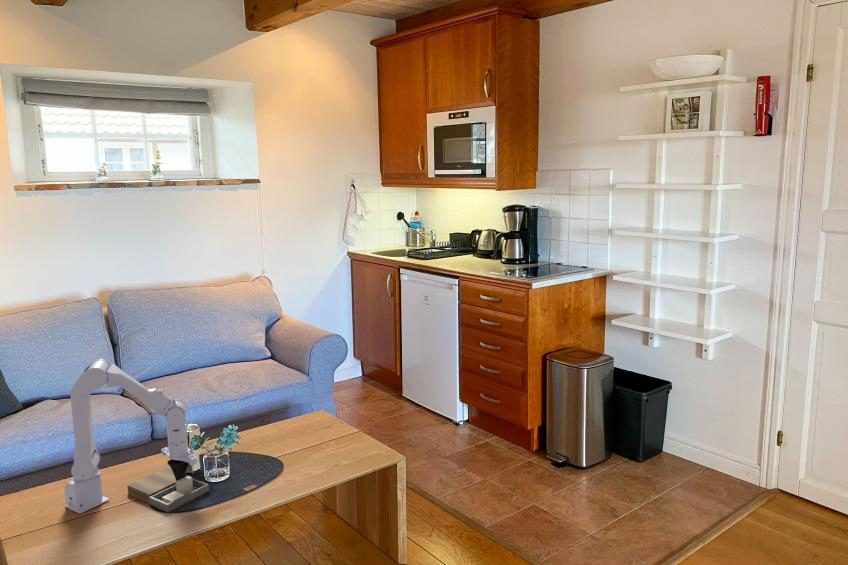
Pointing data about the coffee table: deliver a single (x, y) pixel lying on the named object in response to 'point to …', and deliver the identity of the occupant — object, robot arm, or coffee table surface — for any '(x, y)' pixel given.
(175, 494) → the cream tile
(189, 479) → the sage tile
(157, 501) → the box
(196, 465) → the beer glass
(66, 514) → the coffee table surface
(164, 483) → the walnut board
